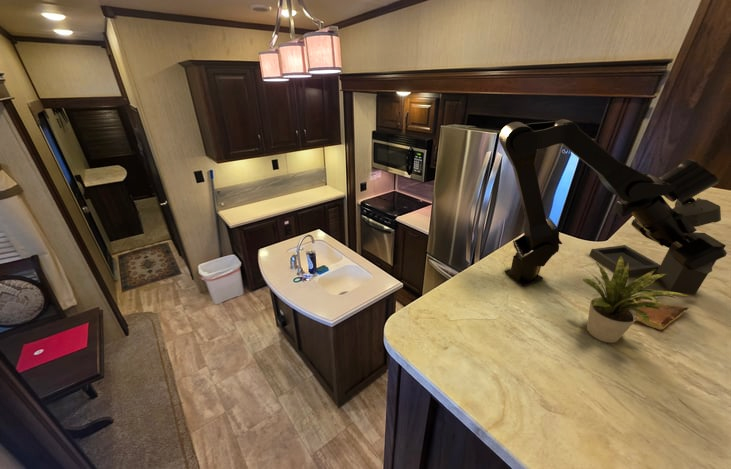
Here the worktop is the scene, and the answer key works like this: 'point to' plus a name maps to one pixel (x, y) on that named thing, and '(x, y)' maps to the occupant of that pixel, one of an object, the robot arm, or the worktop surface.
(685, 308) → the shard
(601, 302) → the house plant
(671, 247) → the dark banded block
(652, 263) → the base pad
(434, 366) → the worktop surface
